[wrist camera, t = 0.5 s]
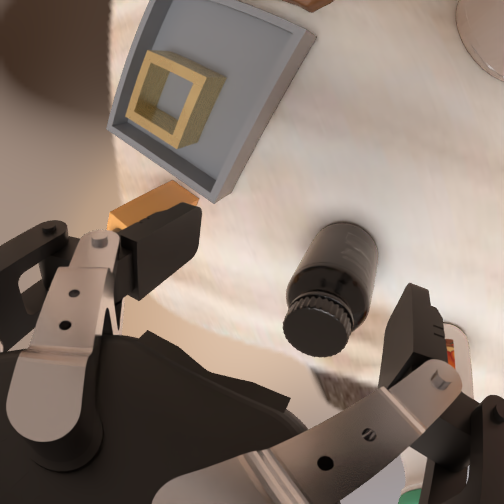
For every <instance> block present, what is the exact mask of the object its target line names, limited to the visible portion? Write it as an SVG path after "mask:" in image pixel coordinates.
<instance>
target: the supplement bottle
mask: <svg viewBox="0 0 504 504" xmlns="http://www.w3.org/2000/svg"><path fill="white" fill-rule="evenodd" d="M377 264H378V251H377V247H376V244H375V242H374V240H373V239H372V237H371V236H370V235H369V234H368V233H367V232H366V231H365V230H363V229H362V228H360V227H358V226H356V225H353V224H348V223H336V224H332V225H329V226H327V227H325V228H324V229H322V230H321V231H320V232H319V233H318V234H317V235H316V237H315V238H314V240H313V241H312V243H311V245H310V246H309V248H308V250H307V252H306V253H305V255H304V257H303V259H302V260H301V262H300V264H299V266H298V267H297V269H296V271H295V273H294V274H293V276H292V278H291V280H290V282H289V284H288V286H287V291H286V302H287V306H288V312H287V314H286V316H285V319H284V321H283V330H284V334H285V337H286V339H288V342H289V343H291V345H292V346H293V347H295V348H296V349H297V350H299V351H301V352H302V353H305V354H307V355H311V356H313V357H328V356H332V355H336V354H337V353H339V352H341V350H342V349H344V348H345V345H346V344H347V342H348V339H349V336H350V334H351V333H352V332H353V331H355V330H356V329H357V328H359V327H360V326H361V325H362V324H363V322H364V321H365V319H366V317H367V315H368V312H369V308H370V304H371V299H372V294H373V288H374V282H375V277H376V271H377Z"/></svg>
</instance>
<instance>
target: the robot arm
mask: <svg viewBox="0 0 504 504" xmlns="http://www.w3.org/2000/svg"><path fill="white" fill-rule="evenodd" d="M456 22H457V27H458V31H459V34H460V37H461V40H462V42H463V43H464V45H465V47H466V49H467V51H468V52H469V53H470V55H471V56H472V57H473V59H474V60H475V61H476V62H477V63H478V64H479V65H480V66H481V67H482V68H483V69H484V70H485V71H487V72H488V73H489V74H490V75H492V76H494V77H495V78H497V79H499V80H501V81H504V0H459V2H458V6H457V9H456ZM201 218H202V211H201V208H200V207H197V206H194V205H191V204H188V203H185V202H181V203H179V204H177V205H175V206H173V207H171V208H169V209H167V210H164V211H159V212H155V213H153V214H151V215H149V216H147V217H146V218H144V219H142V220H140V221H139V222H136V223H134V224H132V225H130V226H128V227H127V228H125V229H123V230H121V231H119V232H117V233H115V232H113V231H110V230H95V231H91V232H88V233H86V234H84V235H83V236H82V237H81V239H79V238H74V237H70V236H68V229H67V225H66V223H64V222H62V221H57V220H53V221H47V222H43V223H41V224H39V225H37V226H35V227H33V228H32V229H29V230H27V231H26V232H24V233H22V234H20V235H18V236H17V237H15V238H13V239H11V240H9V241H8V242H6V243H4V244H3V245H1V246H0V504H341V503H340V500H341V499H343V498H344V497H346V496H347V495H349V494H350V493H351V492H353V491H354V490H355V489H357V488H359V487H360V486H361V485H363V484H364V483H365V482H367V481H368V480H369V479H371V478H372V477H373V476H374V475H376V474H377V473H378V472H379V471H380V470H382V469H383V468H384V467H386V466H387V465H388V464H389V463H390V462H392V461H393V460H394V459H395V458H396V457H398V456H399V455H400V454H401V453H402V452H403V451H405V450H406V449H407V448H408V447H411V448H412V449H414V450H416V451H417V452H419V453H421V454H422V455H424V456H425V457H427V462H426V468H425V474H424V479H423V484H422V489H421V494H420V499H419V503H418V504H504V399H503V398H501V397H499V396H497V395H489V396H487V397H486V398H485V399H484V400H483V401H482V402H481V403H478V402H477V401H475V400H474V399H472V398H470V397H469V396H467V395H466V394H464V393H463V392H462V391H461V390H462V381H461V378H460V376H459V374H458V373H457V371H456V370H455V369H454V368H453V367H452V366H451V365H449V364H448V356H447V347H446V339H445V332H444V325H443V318H442V317H441V315H440V313H439V312H438V310H437V308H435V307H433V306H431V304H430V297H429V291H428V290H427V289H425V288H422V287H420V286H417V285H414V284H412V283H409V284H408V285H407V286H406V288H405V290H404V292H403V294H402V296H401V298H400V300H399V302H398V304H397V306H396V307H395V309H394V311H393V313H392V315H391V317H390V319H389V321H388V324H387V327H386V330H385V336H384V346H383V354H382V362H381V370H380V377H379V384H378V389H377V390H376V391H374V392H373V393H371V394H370V395H368V396H366V397H365V398H363V399H362V400H360V401H358V402H357V403H355V404H353V405H352V406H350V407H348V408H347V409H345V410H343V411H342V412H340V413H338V414H336V415H335V416H333V417H331V418H329V419H327V420H326V421H324V422H322V423H320V424H318V425H316V426H314V427H313V428H311V429H309V430H308V428H307V427H306V426H305V425H304V424H303V423H302V422H301V421H300V420H299V419H298V418H297V417H296V416H295V415H294V414H292V413H291V412H290V411H288V410H287V409H286V408H287V406H288V403H289V401H290V399H291V398H289V397H287V396H284V395H282V394H279V393H277V392H274V391H272V390H270V389H267V388H265V387H263V386H260V385H258V384H256V383H253V382H249V381H245V380H240V379H236V378H231V377H227V376H223V375H219V374H215V373H211V372H209V371H207V370H206V369H204V368H203V367H202V366H201V365H200V364H198V363H197V362H196V361H195V360H193V359H192V358H191V357H190V356H189V355H188V354H186V353H185V352H184V351H183V350H182V349H181V348H179V347H178V346H176V345H174V344H172V343H170V342H169V341H167V340H165V339H163V338H161V337H159V336H157V335H156V334H154V333H152V332H150V331H148V330H147V331H146V332H145V333H144V334H143V335H142V336H141V337H140V338H135V337H130V336H123V335H122V323H123V312H124V297H125V296H126V295H129V296H131V297H133V298H135V299H136V300H138V301H140V300H141V299H142V298H144V297H145V296H146V295H147V294H148V293H150V292H151V291H152V290H153V289H155V288H156V287H157V286H158V285H160V284H161V283H162V282H163V281H164V280H166V279H167V278H168V277H169V276H171V275H172V274H173V273H174V272H176V271H177V270H178V269H179V268H181V267H182V266H183V265H184V264H186V263H187V262H188V261H189V260H191V259H192V258H193V257H194V255H195V254H196V252H197V249H198V245H199V237H200V227H201ZM37 263H39V268H40V272H41V276H42V279H41V280H40V281H38V282H37V283H35V284H34V285H33V286H31V287H30V288H28V289H27V290H26V291H25V292H23V293H22V294H21V293H20V290H19V287H18V281H19V278H20V276H21V275H22V274H23V273H24V272H25V271H27V270H28V269H30V268H31V267H33V266H34V265H36V264H37ZM34 328H35V330H34V333H33V336H32V339H31V342H30V345H29V347H28V348H27V349H21V350H15V351H8V350H9V349H10V348H12V347H13V346H14V345H15V344H16V343H17V342H18V341H20V340H21V339H22V338H23V337H24V336H25V335H27V334H28V333H29V332H30V331H31V330H32V329H34ZM7 351H8V352H7ZM469 465H470V467H469V478H468V481H467V480H466V479H467V469H468V466H469ZM466 481H467V484H466Z"/></svg>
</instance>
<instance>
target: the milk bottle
mask: <svg viewBox="0 0 504 504" xmlns="http://www.w3.org/2000/svg"><path fill="white" fill-rule="evenodd" d="M443 325H444V332H445V339H446V347H447V356H448V364H449V365H451V366H452V367H453V368H454V369H455V370H456V371H457V373H458V374H459V376H460V378H461V381H462V390H461V391H462V392H463V393H464V394H466V395H467V396H469V397H470V398H472V399H474V396H473V379H472V368H471V358H470V350H469V344H468V339H467V337H466V335H465V334H464V333H463V332H462V331H461V330H460V329H459V328H458V327H456V326H454V325H451V324H445V323H443ZM400 456H401V459H402V462H403V465H404V469H405V478H406V484H405V488H404V489H402V491H401V497H400V498H399V502H398V504H418V503H419V499H420V494H421V489H422V484H423V479H424V474H425V468H426V462H427V457H425V456H424V455H422V454H421V453H419V452H417V451H416V450H414V449H412V448H411V447H408V448H407V449H406V450H405V451H403V452H402V453H401V454H400Z"/></svg>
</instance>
